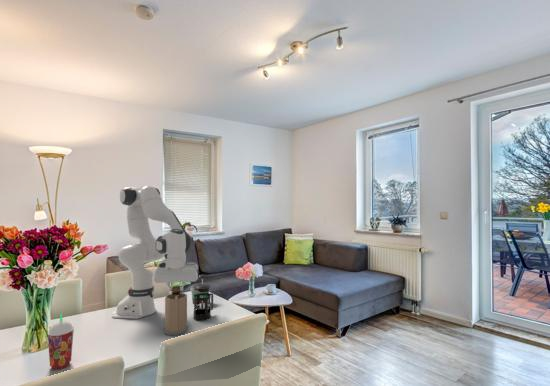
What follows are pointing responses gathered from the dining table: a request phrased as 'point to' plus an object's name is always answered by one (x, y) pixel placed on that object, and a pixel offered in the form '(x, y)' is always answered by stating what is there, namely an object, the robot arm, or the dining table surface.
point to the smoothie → (60, 343)
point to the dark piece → (197, 293)
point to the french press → (202, 308)
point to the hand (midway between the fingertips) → (176, 290)
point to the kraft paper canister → (175, 315)
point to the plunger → (176, 290)
